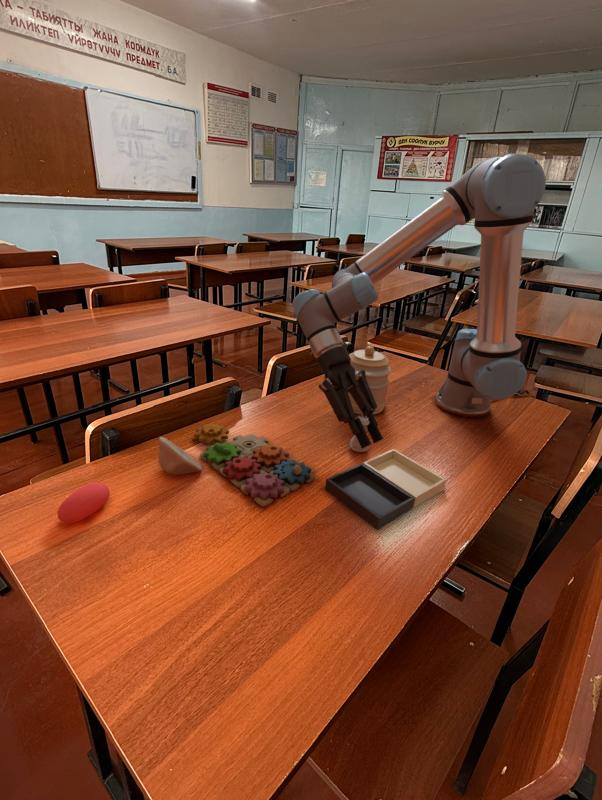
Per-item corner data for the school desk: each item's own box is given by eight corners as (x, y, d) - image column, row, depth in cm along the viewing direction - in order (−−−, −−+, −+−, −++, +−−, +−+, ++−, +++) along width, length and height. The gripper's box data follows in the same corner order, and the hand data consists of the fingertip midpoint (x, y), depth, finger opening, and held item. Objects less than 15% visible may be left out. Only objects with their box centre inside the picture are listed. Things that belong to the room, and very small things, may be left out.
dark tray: (360, 472, 94) (361, 462, 93) (412, 508, 84) (415, 498, 83) (324, 489, 88) (326, 478, 87) (377, 529, 78) (379, 518, 77)
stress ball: (119, 516, 78) (119, 480, 78) (70, 526, 70) (70, 487, 71) (101, 514, 81) (101, 479, 81) (52, 524, 73) (52, 486, 73)
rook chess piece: (367, 454, 100) (372, 424, 97) (348, 451, 101) (352, 420, 97) (368, 444, 104) (373, 415, 101) (350, 441, 105) (354, 412, 101)
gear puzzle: (175, 440, 100) (174, 425, 98) (233, 420, 110) (233, 406, 109) (261, 510, 80) (262, 492, 79) (322, 478, 91) (323, 461, 89)
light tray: (391, 457, 100) (393, 448, 99) (444, 489, 91) (446, 479, 90) (361, 472, 94) (362, 462, 93) (413, 507, 84) (416, 497, 83)
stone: (209, 465, 94) (210, 447, 86) (192, 492, 90) (191, 476, 82) (167, 442, 94) (164, 422, 86) (148, 469, 91) (143, 451, 82)
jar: (331, 398, 127) (337, 340, 119) (368, 393, 132) (377, 337, 125) (353, 419, 116) (362, 356, 109) (393, 412, 122) (404, 352, 114)
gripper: (345, 353, 110) (385, 438, 106) (295, 365, 100) (337, 459, 96) (363, 339, 105) (406, 428, 100) (311, 350, 95) (357, 449, 90)
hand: (372, 443), depth 98 cm, fingers closed on rook chess piece, 3 cm apart
